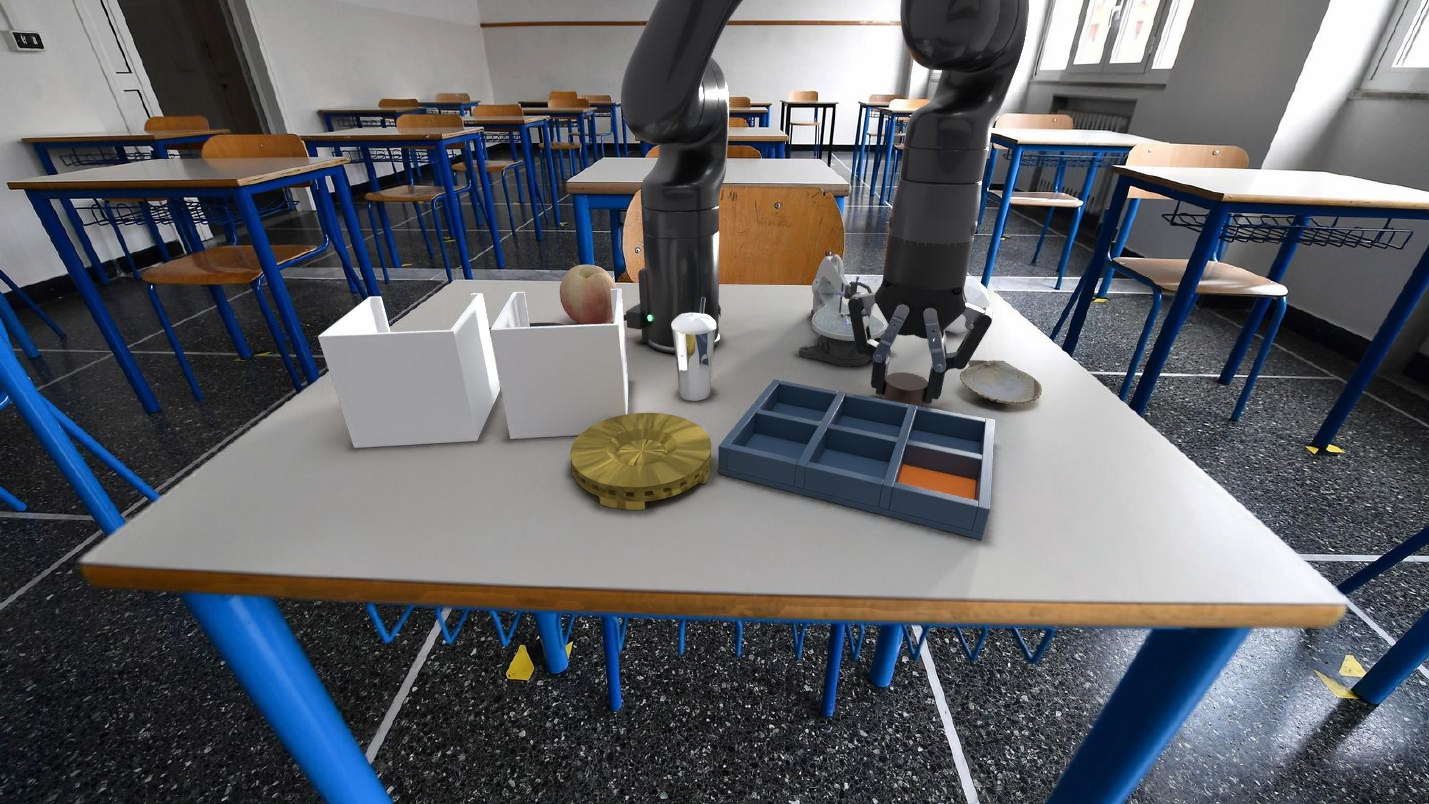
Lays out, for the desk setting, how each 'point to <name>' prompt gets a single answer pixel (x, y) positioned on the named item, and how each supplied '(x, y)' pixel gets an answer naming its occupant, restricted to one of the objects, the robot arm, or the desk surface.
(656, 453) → the gold notched disc
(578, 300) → the fruit
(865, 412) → the grid
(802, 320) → the desk surface
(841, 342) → the scroll saw
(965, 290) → the geometric ball
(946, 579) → the desk surface
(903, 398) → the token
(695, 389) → the milkshake
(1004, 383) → the seashell
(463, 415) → the white open box
